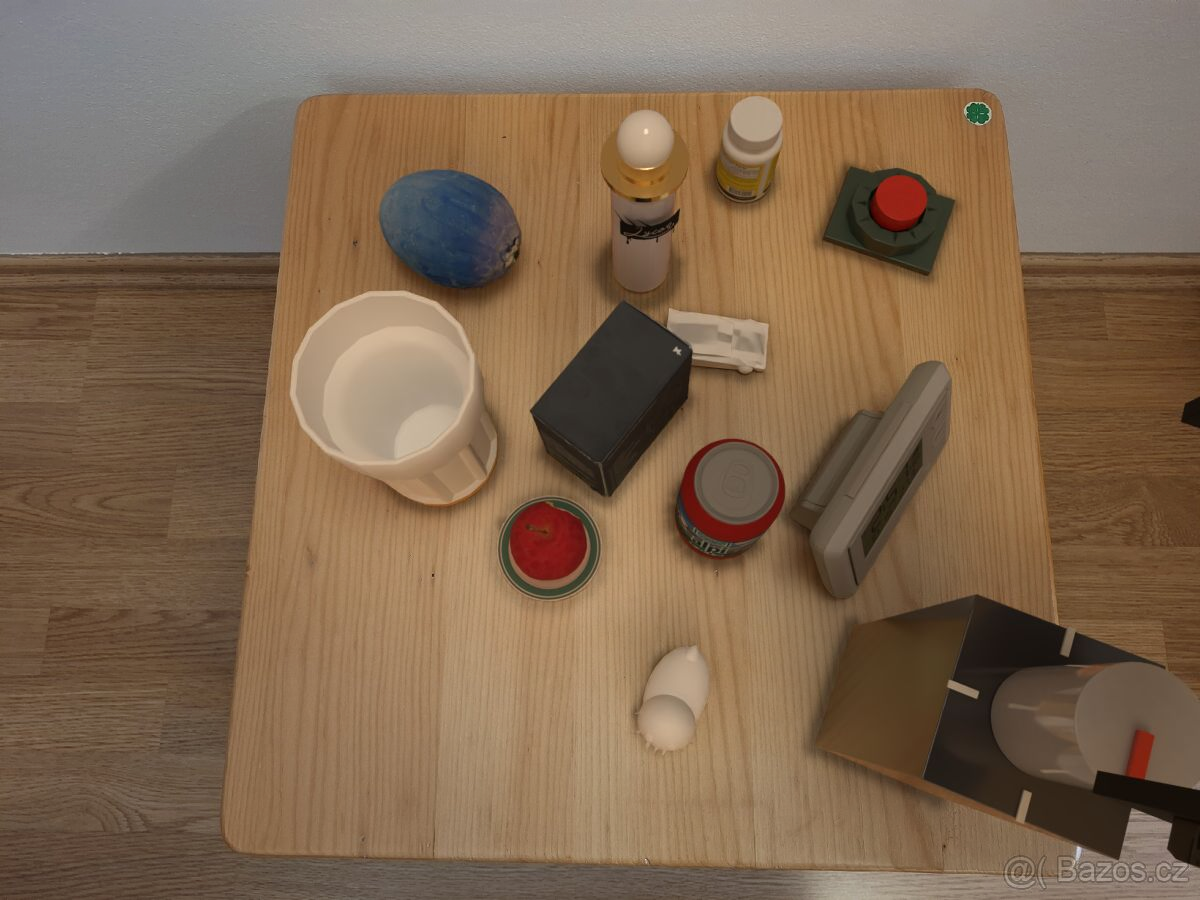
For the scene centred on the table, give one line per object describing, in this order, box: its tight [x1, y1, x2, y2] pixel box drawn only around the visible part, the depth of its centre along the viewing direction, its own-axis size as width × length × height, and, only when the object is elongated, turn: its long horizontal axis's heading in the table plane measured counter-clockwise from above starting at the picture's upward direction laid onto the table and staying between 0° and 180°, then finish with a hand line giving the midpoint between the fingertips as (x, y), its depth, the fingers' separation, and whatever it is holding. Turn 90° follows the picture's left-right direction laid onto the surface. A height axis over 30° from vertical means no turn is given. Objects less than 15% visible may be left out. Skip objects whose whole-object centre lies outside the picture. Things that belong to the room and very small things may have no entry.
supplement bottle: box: [715, 95, 784, 203], centre depth 71 cm, size 5×5×8 cm
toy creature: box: [632, 644, 711, 759], centre depth 62 cm, size 5×8×6 cm, turn 157°
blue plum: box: [378, 168, 553, 290], centre depth 70 cm, size 9×9×15 cm
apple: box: [496, 495, 603, 602], centre depth 65 cm, size 8×8×6 cm
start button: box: [870, 175, 927, 231], centre depth 71 cm, size 4×4×2 cm
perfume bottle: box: [599, 108, 690, 293], centre depth 64 cm, size 6×6×20 cm
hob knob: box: [991, 662, 1200, 790], centre depth 37 cm, size 5×5×8 cm
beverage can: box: [674, 437, 786, 560], centre depth 62 cm, size 7×7×12 cm
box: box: [529, 299, 693, 498], centre depth 65 cm, size 11×7×10 cm, turn 142°
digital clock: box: [789, 360, 953, 599], centre depth 63 cm, size 16×9×11 cm, turn 134°
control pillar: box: [813, 593, 1166, 861], centre depth 52 cm, size 9×9×24 cm
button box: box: [822, 165, 956, 276], centre depth 73 cm, size 9×7×2 cm
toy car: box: [666, 307, 770, 375], centre depth 70 cm, size 5×8×2 cm, turn 83°
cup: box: [288, 289, 499, 507], centre depth 62 cm, size 11×11×17 cm
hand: (1178, 602), depth 31 cm, fingers open, 13 cm apart
